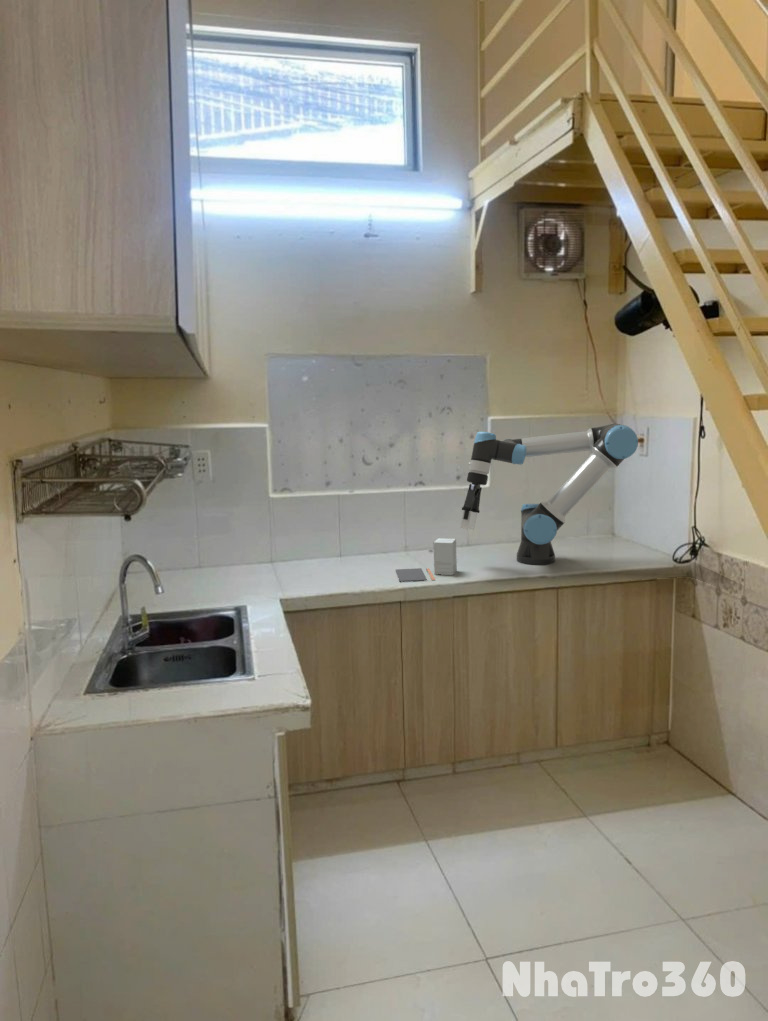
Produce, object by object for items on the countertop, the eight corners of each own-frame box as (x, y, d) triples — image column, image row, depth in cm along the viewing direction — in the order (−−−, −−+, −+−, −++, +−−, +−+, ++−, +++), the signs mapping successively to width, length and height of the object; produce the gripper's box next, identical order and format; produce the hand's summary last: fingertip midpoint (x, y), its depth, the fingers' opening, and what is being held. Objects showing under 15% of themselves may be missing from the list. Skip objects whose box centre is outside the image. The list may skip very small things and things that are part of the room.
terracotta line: (429, 569, 267) (429, 568, 267) (435, 580, 251) (435, 579, 251) (426, 569, 267) (426, 568, 267) (432, 580, 251) (432, 579, 251)
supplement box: (457, 570, 263) (456, 538, 261) (452, 575, 257) (452, 542, 254) (438, 569, 266) (438, 537, 264) (433, 574, 259) (433, 541, 257)
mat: (421, 569, 267) (421, 568, 266) (426, 580, 251) (426, 579, 251) (395, 570, 266) (395, 569, 266) (399, 582, 250) (399, 580, 250)
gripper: (474, 474, 271) (463, 526, 271) (462, 468, 247) (451, 526, 247) (492, 477, 268) (482, 530, 269) (483, 472, 245) (471, 530, 245)
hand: (467, 528), depth 258 cm, fingers open, 13 cm apart
